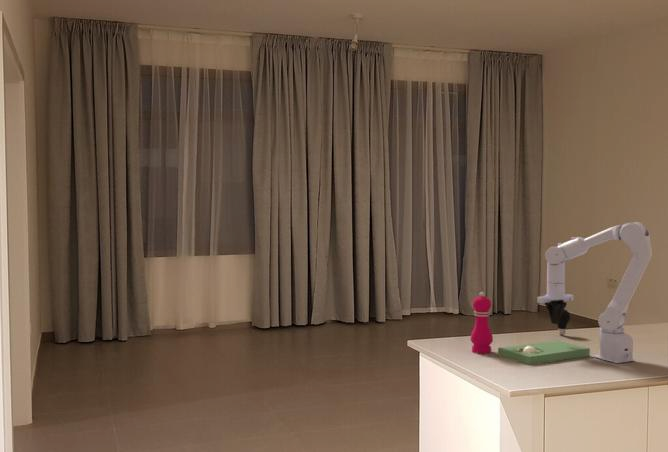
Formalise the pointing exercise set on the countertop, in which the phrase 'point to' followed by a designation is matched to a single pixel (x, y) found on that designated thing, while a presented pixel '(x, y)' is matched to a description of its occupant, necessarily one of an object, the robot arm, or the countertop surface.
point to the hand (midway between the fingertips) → (555, 323)
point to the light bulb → (563, 322)
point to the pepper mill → (481, 325)
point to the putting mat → (544, 352)
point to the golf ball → (529, 349)
